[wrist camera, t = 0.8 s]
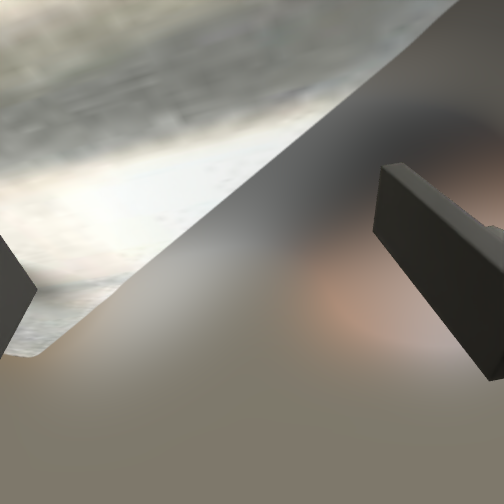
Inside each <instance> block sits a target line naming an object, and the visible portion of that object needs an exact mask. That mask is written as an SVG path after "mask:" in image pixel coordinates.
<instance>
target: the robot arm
mask: <svg viewBox="0 0 504 504" xmlns="http://www.w3.org/2000/svg"><path fill="white" fill-rule="evenodd" d="M373 232H374V234H375V235H376V236H377V237H378V239H379V240H380V241H381V243H382V244H383V245H384V247H385V248H386V249H387V251H388V252H389V253H390V254H391V256H392V257H393V258H394V259H395V261H396V262H397V263H398V264H399V266H400V267H401V268H402V270H403V271H404V272H405V274H406V275H407V276H408V277H409V279H410V280H411V281H412V283H413V284H414V285H415V286H416V288H417V289H418V290H419V292H420V293H421V294H422V295H423V297H424V298H425V299H426V301H427V302H428V303H429V304H430V306H431V307H432V308H433V310H434V311H435V312H436V314H437V315H438V316H439V317H440V319H441V320H442V321H443V323H444V324H445V325H446V326H447V328H448V329H449V330H450V332H451V333H452V334H453V335H454V337H455V338H456V339H457V341H458V342H459V343H460V344H461V346H462V347H463V348H464V349H465V351H466V352H467V353H468V355H469V356H470V357H471V359H472V360H473V361H474V362H475V364H476V365H477V366H478V368H479V369H480V370H481V372H482V373H483V374H484V375H485V377H486V378H487V379H488V380H489V381H493V380H498V379H503V378H504V230H502V229H500V228H498V227H495V226H488V227H485V226H484V225H483V224H481V223H480V222H479V221H477V220H476V219H475V218H473V217H472V216H471V215H469V214H468V213H467V212H465V210H463V209H462V208H461V207H459V206H458V205H457V204H456V203H454V202H453V201H452V200H450V199H449V198H448V197H446V196H445V195H444V194H443V193H441V192H440V191H439V190H437V189H436V188H435V187H433V186H432V185H431V184H430V183H428V182H427V181H426V180H425V179H423V178H422V177H420V176H419V175H418V174H417V173H415V172H414V171H413V170H411V169H410V168H409V167H408V166H406V165H405V164H404V163H396V164H390V165H384V166H381V171H380V179H379V187H378V194H377V202H376V210H375V217H374V226H373ZM37 290H38V289H37V288H36V286H35V285H34V283H33V282H32V280H31V279H30V278H29V276H28V275H27V273H26V272H25V270H24V269H23V267H22V266H21V264H20V263H19V262H18V260H17V259H16V257H15V256H14V254H13V253H12V251H11V250H10V248H9V247H8V245H7V244H6V243H5V241H4V240H3V238H2V237H1V235H0V359H1V357H2V355H3V353H4V351H5V349H6V348H7V346H8V344H9V342H10V340H11V338H12V336H13V335H14V333H15V331H16V329H17V327H18V325H19V323H20V322H21V320H22V318H23V316H24V314H25V312H26V310H27V309H28V307H29V305H30V303H31V301H32V299H33V297H34V296H35V294H36V292H37Z"/></svg>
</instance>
